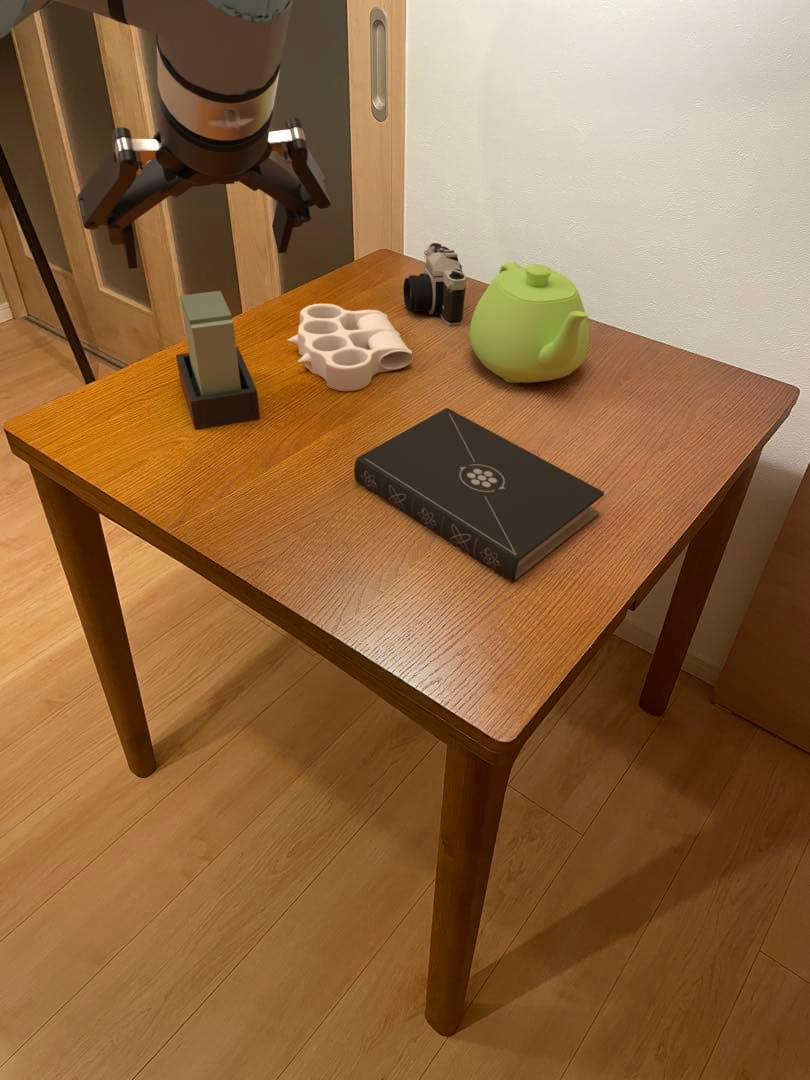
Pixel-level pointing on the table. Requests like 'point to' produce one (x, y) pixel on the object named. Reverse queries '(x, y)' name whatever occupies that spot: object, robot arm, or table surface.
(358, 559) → the table surface
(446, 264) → the camera
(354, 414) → the table surface
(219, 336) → the grey-green lidded box
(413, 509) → the book
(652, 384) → the table surface
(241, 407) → the socket
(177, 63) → the robot arm
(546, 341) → the teapot
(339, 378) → the knuckle duster
